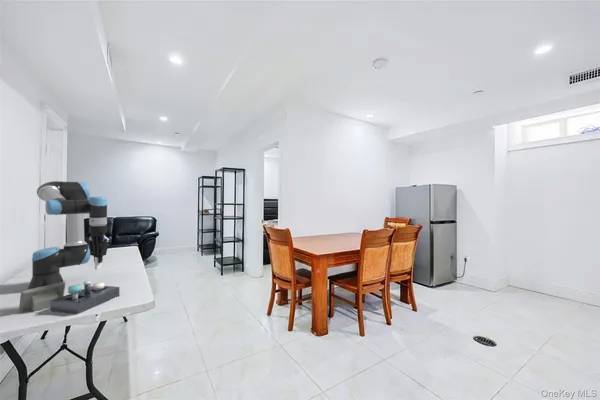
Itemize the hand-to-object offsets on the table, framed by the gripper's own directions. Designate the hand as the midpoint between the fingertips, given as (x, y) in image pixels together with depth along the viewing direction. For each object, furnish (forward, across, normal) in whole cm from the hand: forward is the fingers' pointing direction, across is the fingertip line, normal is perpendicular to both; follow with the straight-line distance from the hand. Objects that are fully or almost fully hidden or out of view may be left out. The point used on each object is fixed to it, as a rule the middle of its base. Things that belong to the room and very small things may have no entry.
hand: (98, 268), depth 136 cm
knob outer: (+13, +1, -12) cm, 18 cm away
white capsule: (+11, 0, -6) cm, 13 cm away
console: (+16, +1, -6) cm, 17 cm away
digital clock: (+17, -17, -14) cm, 27 cm away
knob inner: (+16, +1, 0) cm, 16 cm away
